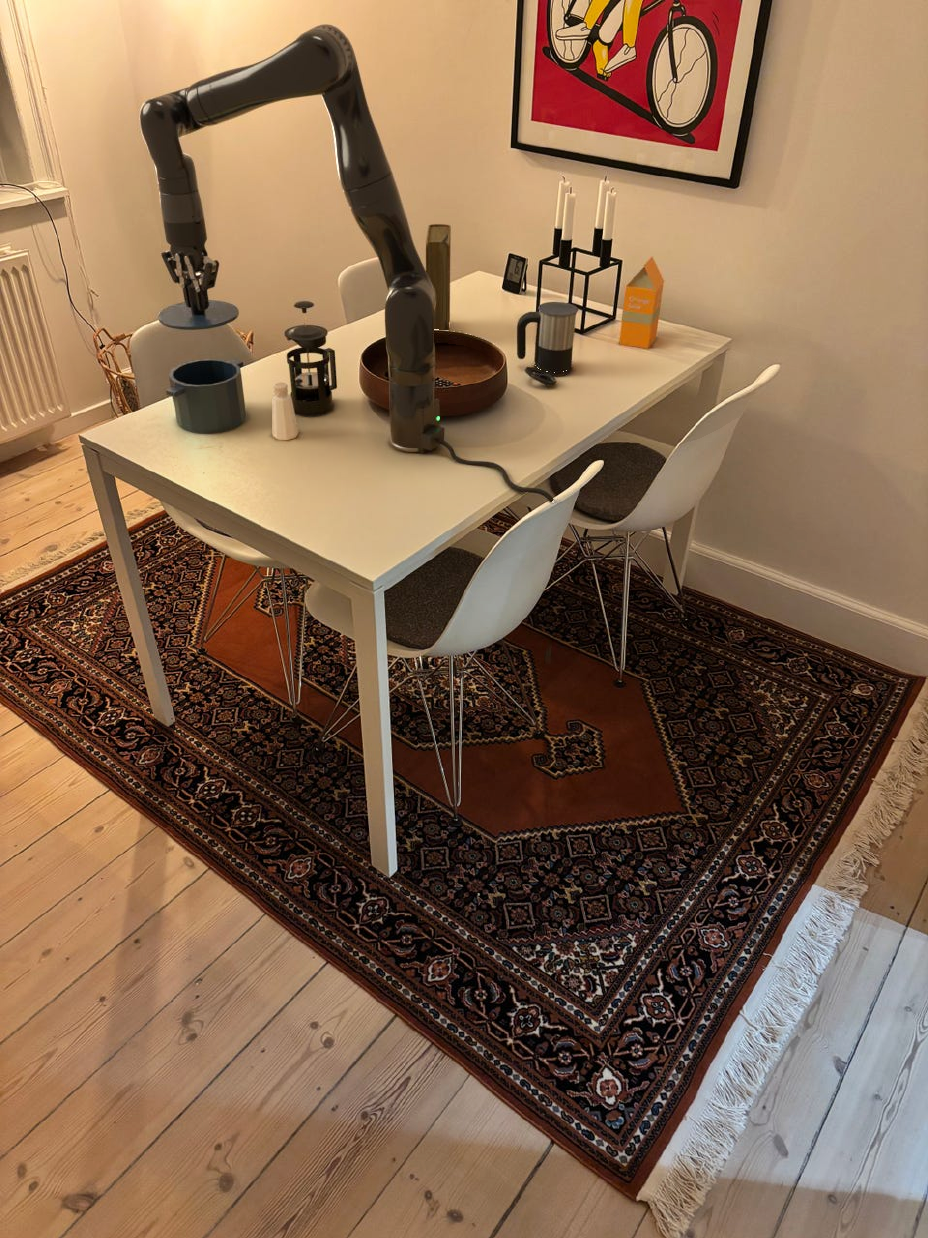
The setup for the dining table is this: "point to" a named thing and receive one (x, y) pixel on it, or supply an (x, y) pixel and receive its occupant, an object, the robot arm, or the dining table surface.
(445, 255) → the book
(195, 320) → the lid
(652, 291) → the orange juice
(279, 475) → the dining table surface
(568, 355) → the milk frother
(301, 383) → the french press
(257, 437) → the dining table surface
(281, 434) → the pepper shaker
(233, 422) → the pot
